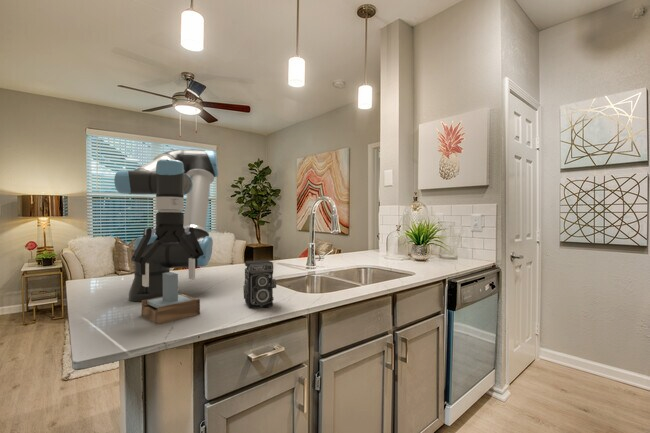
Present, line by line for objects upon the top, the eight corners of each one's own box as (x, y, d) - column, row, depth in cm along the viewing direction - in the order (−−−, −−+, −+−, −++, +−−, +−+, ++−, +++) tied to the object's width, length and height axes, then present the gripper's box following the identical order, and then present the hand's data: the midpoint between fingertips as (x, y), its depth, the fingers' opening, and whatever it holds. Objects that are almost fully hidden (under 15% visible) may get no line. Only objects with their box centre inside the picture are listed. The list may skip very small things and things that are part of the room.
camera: (246, 312, 99) (246, 265, 99) (241, 304, 109) (241, 260, 109) (279, 309, 104) (279, 263, 104) (271, 300, 113) (271, 258, 113)
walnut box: (141, 317, 95) (141, 300, 95) (181, 308, 104) (181, 292, 104) (158, 326, 87) (158, 308, 87) (199, 315, 97) (199, 299, 97)
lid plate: (147, 303, 95) (147, 273, 95) (178, 297, 102) (178, 269, 102) (160, 310, 89) (160, 278, 89) (193, 302, 96) (193, 273, 96)
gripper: (128, 210, 84) (127, 291, 83) (214, 212, 103) (214, 277, 102) (118, 211, 88) (118, 287, 88) (202, 212, 107) (202, 275, 107)
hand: (169, 282), depth 95 cm, fingers open, 13 cm apart
